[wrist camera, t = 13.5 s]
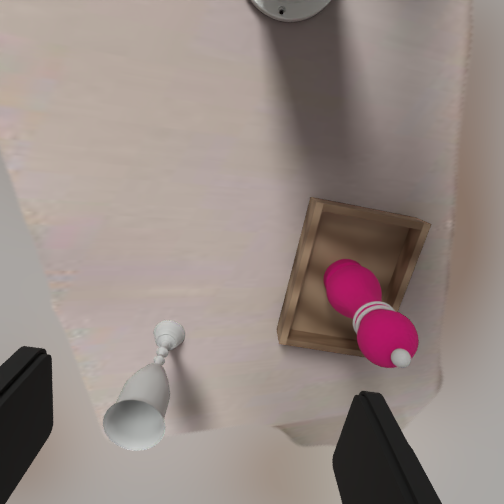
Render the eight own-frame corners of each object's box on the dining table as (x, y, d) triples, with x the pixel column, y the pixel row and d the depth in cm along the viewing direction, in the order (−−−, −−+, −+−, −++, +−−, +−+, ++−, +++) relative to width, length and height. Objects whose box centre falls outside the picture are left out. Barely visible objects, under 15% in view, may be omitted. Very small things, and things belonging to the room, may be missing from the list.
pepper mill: (377, 276, 49) (459, 361, 31) (341, 307, 51) (398, 407, 32) (345, 245, 48) (412, 315, 29) (310, 279, 49) (350, 366, 30)
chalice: (189, 354, 54) (165, 451, 37) (148, 351, 54) (105, 449, 37) (190, 315, 52) (165, 401, 35) (147, 312, 52) (100, 398, 35)
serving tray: (310, 196, 46) (316, 201, 43) (416, 217, 48) (431, 224, 44) (276, 329, 53) (279, 343, 49) (369, 344, 55) (379, 359, 51)
